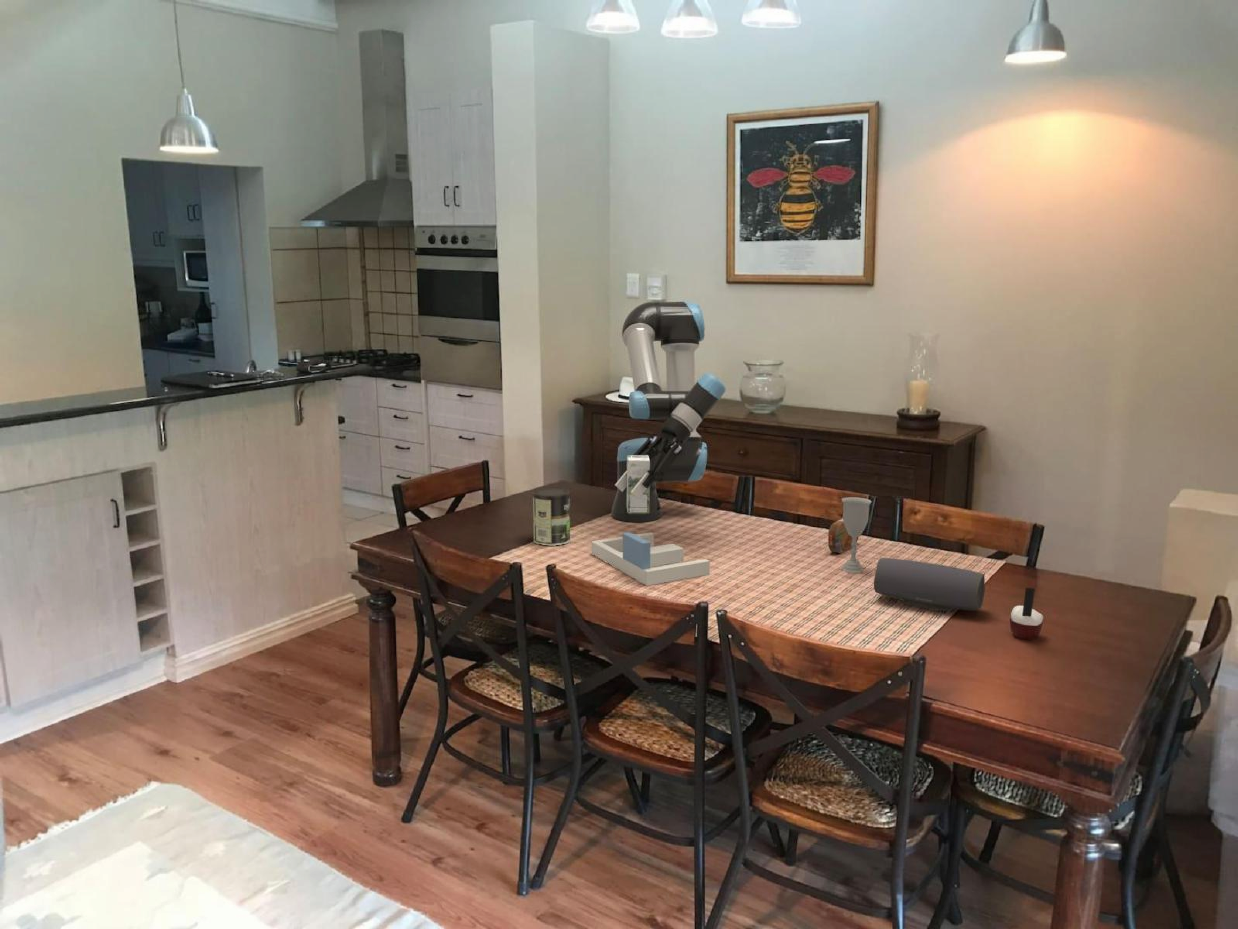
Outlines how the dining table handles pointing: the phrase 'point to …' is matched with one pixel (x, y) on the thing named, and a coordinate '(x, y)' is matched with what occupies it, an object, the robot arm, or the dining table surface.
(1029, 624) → the cocoa
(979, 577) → the bluetooth speaker
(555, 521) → the coffee can
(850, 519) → the chalice
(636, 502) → the syrup box
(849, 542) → the brown stone slab
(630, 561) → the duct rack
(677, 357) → the robot arm
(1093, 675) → the dining table surface
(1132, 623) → the dining table surface
